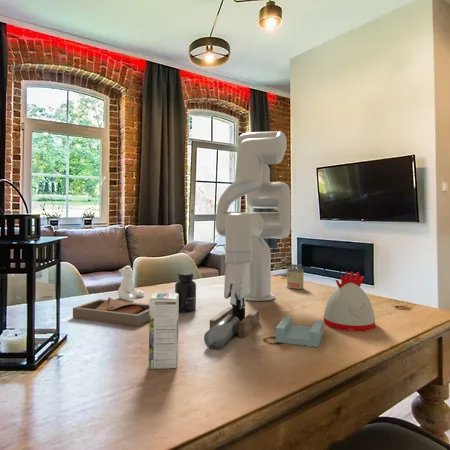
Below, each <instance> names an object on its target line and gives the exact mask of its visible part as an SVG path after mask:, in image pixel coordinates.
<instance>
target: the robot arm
mask: <svg viewBox="0 0 450 450" xmlns="http://www.w3.org/2000/svg"><path fill="white" fill-rule="evenodd" d="M236 143H237V158H236V167H235V175H234V181H233V182H232V183H231V184H230V185H228V187H227V188H226V189H225V190H224V191H223V193H222V194H221V196H220V198H219V200H218V202H217V210H216V215H215V230H216V232H217V234H218V235H219V236H221V237H225V241H224V242H225V248H224V249H225V251H224V252H225V254H224V255H225V256H224V257H225V259H224V261H225V272H224V287H223V288H224V290H223V296H224V298H225V299H226V300H227V299H230V301H229V303H230V304H229V305H231V307H232V308H233V315H235V316H236V317H238V319H239V320H240V322H241V321H242V320H243V319H244V318H245V317H246V301H250V302H268V301H272V300H274V299H275V297H276V296H275V295H276V294H274V293H273V292H271V277H272V275H271V274H272V273H271V267H272V266H271V265H272V263H271V258H272V257H271V256H272V254H271V248H270V246H269V244H268V243H267V242H266V240H265V239H285V238H288V237H289V236H290V234H291V233H290V232H291V229H292V227H291V226H292V225H291V222H292V221H291V218H292V217H291V215H292V214H291V212H292V211H291V209H292V208H291V206H292V205H291V203H292V202H291V201H292V199H291V196H292V195H291V190H290V189H291V188H290V186H289V184H287V183H286V182H282V181H272V182H271V180H270V179H271V169H270V167H269V165H279V164H280V163H281V162H282V161H283V159H284V157H285V153H286V151H287V146H288V144H287V143H288V142H287V136H286V134H285V133H284V132H283V131H281V130H278V131H277V130H275V131H273V130H272V131H253V132H246V133H242V134H240V135H239V136H238V137H237V142H236ZM243 196H246V202H247V205H248V206H249V207H250V208H253V209H275V210H277V211H275V212H274V211H254V212H252V211H228V210H229V208H230V206H231V205H232V204H233V203H234V202H235V201H236V200H238V199H240V198H242V197H243Z"/></svg>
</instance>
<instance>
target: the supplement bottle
mask: <svg viewBox="0 0 450 450" xmlns="http://www.w3.org/2000/svg"><path fill="white" fill-rule="evenodd" d="M177 275H178V276H177V279H178V280H177V281H176V282H175V284H174V293H178V294H179V313H192V312H195V311H196V309H197V283H196V282H195V281H194V280H193V279H194V273H193V272H189V271H185V272H179V273H178V274H177Z"/></svg>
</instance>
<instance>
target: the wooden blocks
mask: <svg viewBox="0 0 450 450" xmlns="http://www.w3.org/2000/svg"><path fill="white" fill-rule="evenodd" d="M228 315H233V308H232V306H228V307H227V308H225V309H223V310H222V311H221V312H219V313H218V314H216V315H214V316H213V317H212V318H210V319H209V330H210V329H211V328H212V327H213V326H215V325H216V324H217V323H219V322H220V321H221V320H223V319H224V318H225V317H226V316H228ZM259 323H260V310H259V309H253V310H252V311H251V312H249V313H248V315H245V318H244V319H243V320H242V321H241V322H239V323H238V331H237V333H238V337H237V338H245V337H247V335H248V334H249V333H250V332H251V331H252V330H253V329H254V328H255V327H256V326H257V325H258V324H259Z"/></svg>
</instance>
